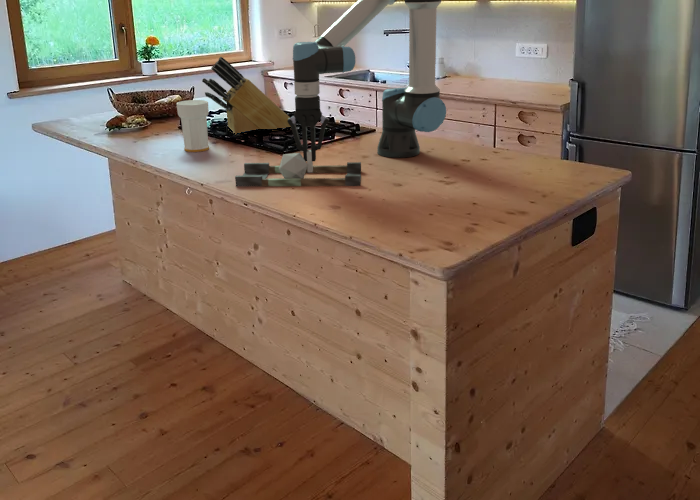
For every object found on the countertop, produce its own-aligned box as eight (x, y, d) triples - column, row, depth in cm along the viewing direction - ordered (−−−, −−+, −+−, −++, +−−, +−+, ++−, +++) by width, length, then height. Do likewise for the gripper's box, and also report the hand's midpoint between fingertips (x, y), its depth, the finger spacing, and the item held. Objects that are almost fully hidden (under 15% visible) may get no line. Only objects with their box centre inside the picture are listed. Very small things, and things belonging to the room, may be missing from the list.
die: (301, 186, 213) (314, 157, 214) (275, 173, 211) (288, 144, 212) (297, 189, 221) (310, 161, 222) (271, 176, 220) (285, 148, 221)
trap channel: (361, 171, 227) (361, 162, 225) (360, 185, 211) (360, 176, 210) (245, 171, 228) (244, 162, 227) (235, 186, 212) (235, 176, 211)
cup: (218, 147, 261) (214, 101, 255) (197, 154, 252) (192, 106, 246) (196, 144, 267) (192, 98, 260) (174, 150, 258) (169, 103, 251)
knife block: (205, 133, 287) (198, 55, 276) (286, 125, 300) (283, 51, 289) (212, 138, 277) (205, 58, 266) (295, 129, 290) (292, 53, 279)
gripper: (284, 97, 206) (288, 174, 215) (328, 97, 206) (330, 174, 215) (287, 93, 213) (290, 168, 222) (329, 93, 213) (331, 168, 222)
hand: (310, 171), depth 218 cm, fingers closed
